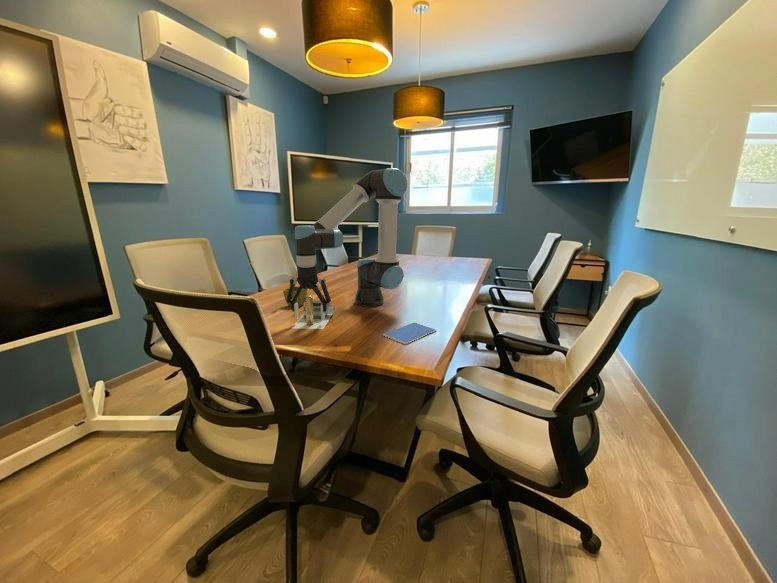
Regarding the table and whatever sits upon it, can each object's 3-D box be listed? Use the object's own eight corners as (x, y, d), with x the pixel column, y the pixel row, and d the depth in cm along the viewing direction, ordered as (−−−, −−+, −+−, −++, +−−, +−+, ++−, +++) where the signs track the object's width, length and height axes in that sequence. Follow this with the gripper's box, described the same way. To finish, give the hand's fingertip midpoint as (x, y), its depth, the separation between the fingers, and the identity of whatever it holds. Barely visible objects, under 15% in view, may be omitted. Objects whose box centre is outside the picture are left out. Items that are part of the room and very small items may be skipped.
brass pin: (314, 322, 134) (313, 295, 131) (313, 325, 131) (311, 297, 128) (307, 322, 134) (306, 295, 131) (305, 325, 131) (303, 297, 128)
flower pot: (283, 307, 159) (282, 290, 156) (293, 302, 167) (291, 285, 164) (300, 309, 157) (298, 291, 154) (308, 304, 165) (307, 287, 162)
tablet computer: (413, 324, 139) (413, 321, 139) (437, 332, 130) (437, 329, 130) (381, 336, 126) (381, 333, 125) (405, 346, 117) (405, 343, 117)
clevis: (336, 311, 149) (335, 301, 148) (331, 319, 139) (331, 308, 137) (310, 310, 149) (310, 300, 148) (304, 318, 139) (303, 307, 138)
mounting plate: (334, 314, 149) (334, 311, 149) (323, 332, 128) (323, 329, 128) (306, 313, 150) (306, 310, 149) (291, 331, 129) (290, 328, 128)
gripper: (337, 264, 130) (339, 316, 135) (281, 263, 130) (285, 315, 136) (333, 267, 122) (335, 322, 128) (274, 267, 123) (279, 321, 129)
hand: (310, 319), depth 132 cm, fingers open, 10 cm apart
